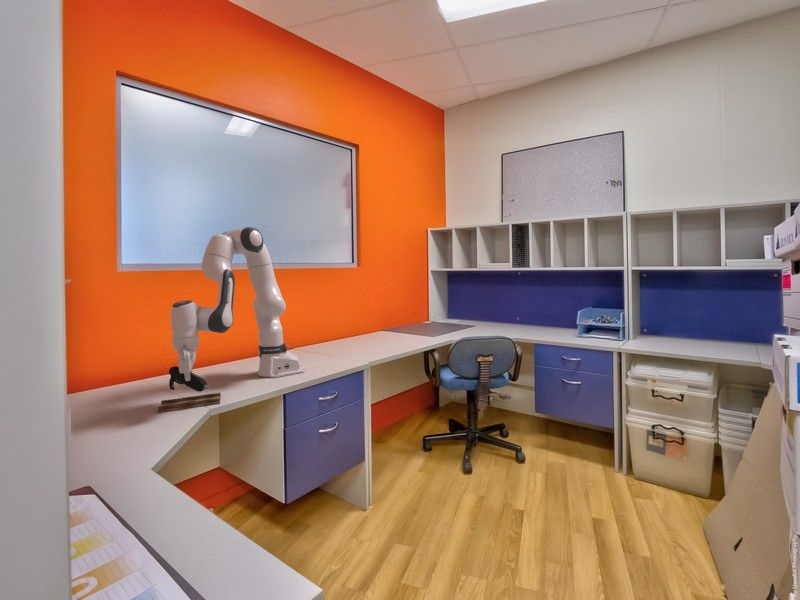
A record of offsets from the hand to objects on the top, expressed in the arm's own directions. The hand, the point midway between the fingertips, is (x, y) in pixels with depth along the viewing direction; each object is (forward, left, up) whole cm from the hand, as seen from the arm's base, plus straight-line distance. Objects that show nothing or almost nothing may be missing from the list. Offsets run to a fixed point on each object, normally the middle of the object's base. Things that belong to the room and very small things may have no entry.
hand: (188, 378), depth 151 cm
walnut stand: (0, 0, -10) cm, 10 cm away
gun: (0, 0, -5) cm, 5 cm away
